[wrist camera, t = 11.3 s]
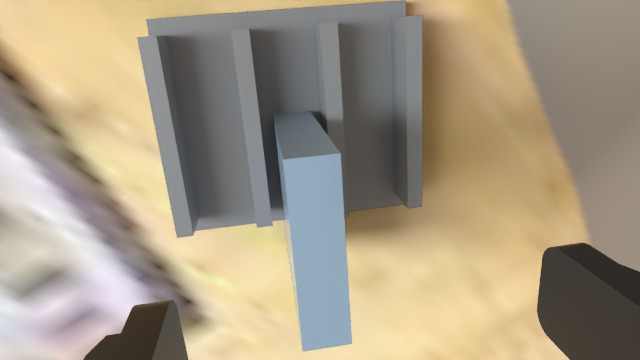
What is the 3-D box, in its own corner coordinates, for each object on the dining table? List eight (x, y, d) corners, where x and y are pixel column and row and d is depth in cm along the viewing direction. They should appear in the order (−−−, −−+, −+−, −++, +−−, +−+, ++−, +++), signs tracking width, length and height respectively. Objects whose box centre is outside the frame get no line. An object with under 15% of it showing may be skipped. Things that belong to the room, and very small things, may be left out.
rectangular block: (272, 114, 29) (282, 159, 19) (310, 111, 29) (340, 153, 19) (287, 249, 32) (302, 351, 22) (320, 245, 33) (352, 343, 22)
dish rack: (151, 20, 28) (133, 17, 23) (398, 1, 29) (422, -4, 25) (189, 223, 32) (179, 251, 28) (401, 196, 34) (422, 220, 30)
